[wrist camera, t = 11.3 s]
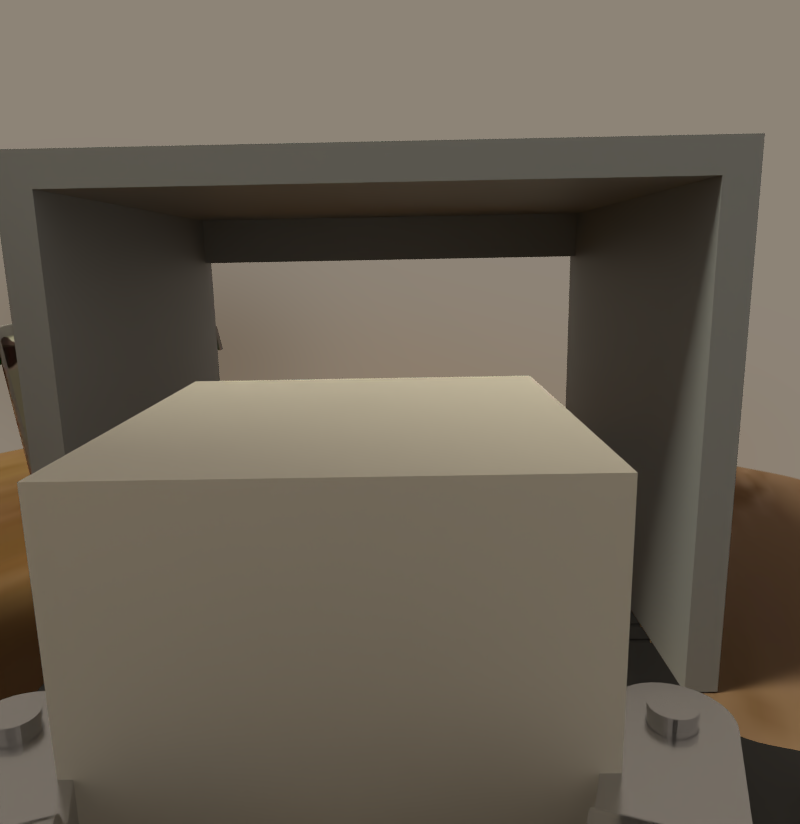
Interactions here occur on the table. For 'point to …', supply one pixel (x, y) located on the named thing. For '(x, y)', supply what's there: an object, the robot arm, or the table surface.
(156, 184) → the open box frame
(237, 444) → the cream block
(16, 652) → the table surface
